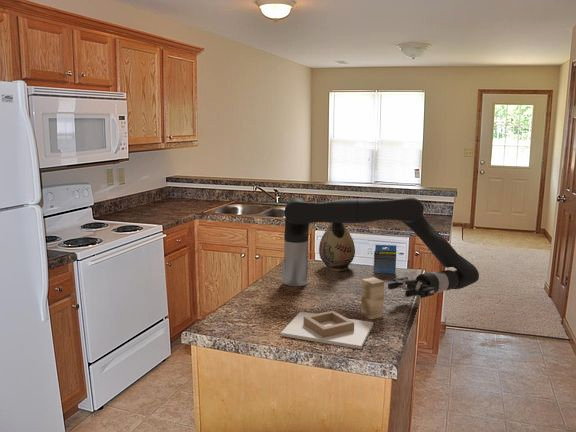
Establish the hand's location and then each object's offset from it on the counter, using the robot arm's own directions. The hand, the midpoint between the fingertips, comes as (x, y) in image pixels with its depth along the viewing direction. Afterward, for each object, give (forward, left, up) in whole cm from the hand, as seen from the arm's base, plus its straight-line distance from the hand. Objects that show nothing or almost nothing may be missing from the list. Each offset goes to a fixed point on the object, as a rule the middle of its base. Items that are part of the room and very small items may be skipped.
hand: (397, 290), depth 169 cm
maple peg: (-7, -8, -7) cm, 13 cm away
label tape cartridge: (-11, +42, -7) cm, 44 cm away
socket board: (-17, -25, -7) cm, 31 cm away
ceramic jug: (-31, +39, -7) cm, 50 cm away
